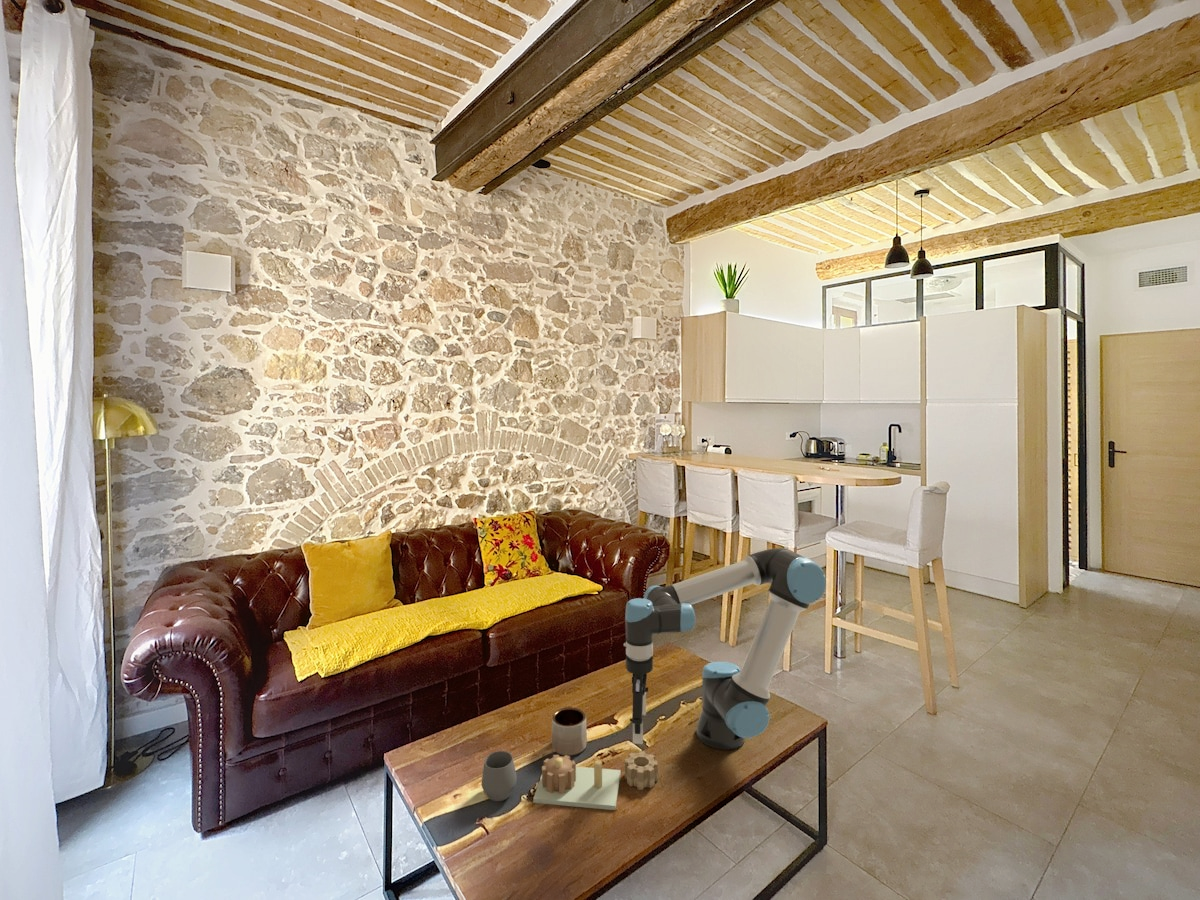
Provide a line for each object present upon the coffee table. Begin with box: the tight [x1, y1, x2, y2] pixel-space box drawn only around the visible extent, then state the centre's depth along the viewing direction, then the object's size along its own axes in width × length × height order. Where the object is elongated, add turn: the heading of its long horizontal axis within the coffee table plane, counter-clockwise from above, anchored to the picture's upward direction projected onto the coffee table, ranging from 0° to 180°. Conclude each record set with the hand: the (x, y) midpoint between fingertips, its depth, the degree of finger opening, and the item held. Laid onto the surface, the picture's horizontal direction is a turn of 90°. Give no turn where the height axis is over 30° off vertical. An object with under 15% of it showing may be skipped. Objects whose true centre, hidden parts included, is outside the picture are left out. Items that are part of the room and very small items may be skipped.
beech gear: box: [624, 750, 659, 791], centre depth 154 cm, size 9×9×5 cm
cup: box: [481, 750, 517, 802], centre depth 148 cm, size 10×9×10 cm
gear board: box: [532, 753, 622, 811], centre depth 150 cm, size 22×14×8 cm, turn 82°
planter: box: [551, 706, 588, 757], centre depth 169 cm, size 11×11×10 cm
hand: (639, 728), depth 153 cm, fingers open, 13 cm apart
